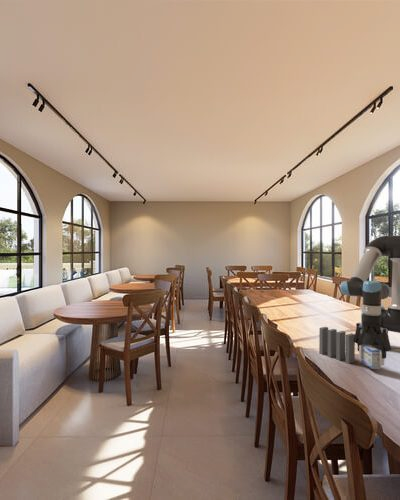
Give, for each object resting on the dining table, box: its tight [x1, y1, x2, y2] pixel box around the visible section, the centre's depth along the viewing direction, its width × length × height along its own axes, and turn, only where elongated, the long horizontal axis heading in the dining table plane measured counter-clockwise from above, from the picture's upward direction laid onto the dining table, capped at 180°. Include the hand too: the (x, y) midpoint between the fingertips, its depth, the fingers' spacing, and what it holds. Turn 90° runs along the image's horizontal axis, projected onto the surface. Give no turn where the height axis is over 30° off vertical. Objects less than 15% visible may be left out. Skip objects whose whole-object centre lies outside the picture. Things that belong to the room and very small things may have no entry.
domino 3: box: [335, 330, 346, 361], centre depth 155 cm, size 5×2×14 cm, turn 122°
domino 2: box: [327, 328, 338, 358], centre depth 159 cm, size 5×2×14 cm, turn 122°
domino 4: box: [344, 332, 356, 364], centre depth 150 cm, size 5×2×14 cm, turn 122°
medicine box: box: [361, 345, 382, 370], centre depth 142 cm, size 8×4×9 cm, turn 2°
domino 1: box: [318, 326, 329, 355], centre depth 163 cm, size 5×2×14 cm, turn 122°
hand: (371, 361), depth 142 cm, fingers closed on medicine box, 9 cm apart
